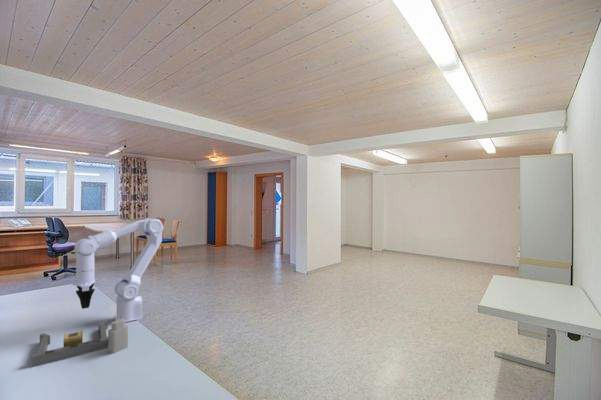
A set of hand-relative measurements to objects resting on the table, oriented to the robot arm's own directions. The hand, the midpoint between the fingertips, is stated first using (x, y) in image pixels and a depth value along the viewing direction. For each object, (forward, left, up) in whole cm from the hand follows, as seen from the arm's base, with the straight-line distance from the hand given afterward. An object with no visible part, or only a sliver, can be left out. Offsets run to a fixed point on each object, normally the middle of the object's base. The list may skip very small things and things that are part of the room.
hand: (85, 305), depth 113 cm
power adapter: (-9, +24, -10) cm, 28 cm away
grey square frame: (+3, +12, -10) cm, 16 cm away
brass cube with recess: (+3, +15, -10) cm, 18 cm away
